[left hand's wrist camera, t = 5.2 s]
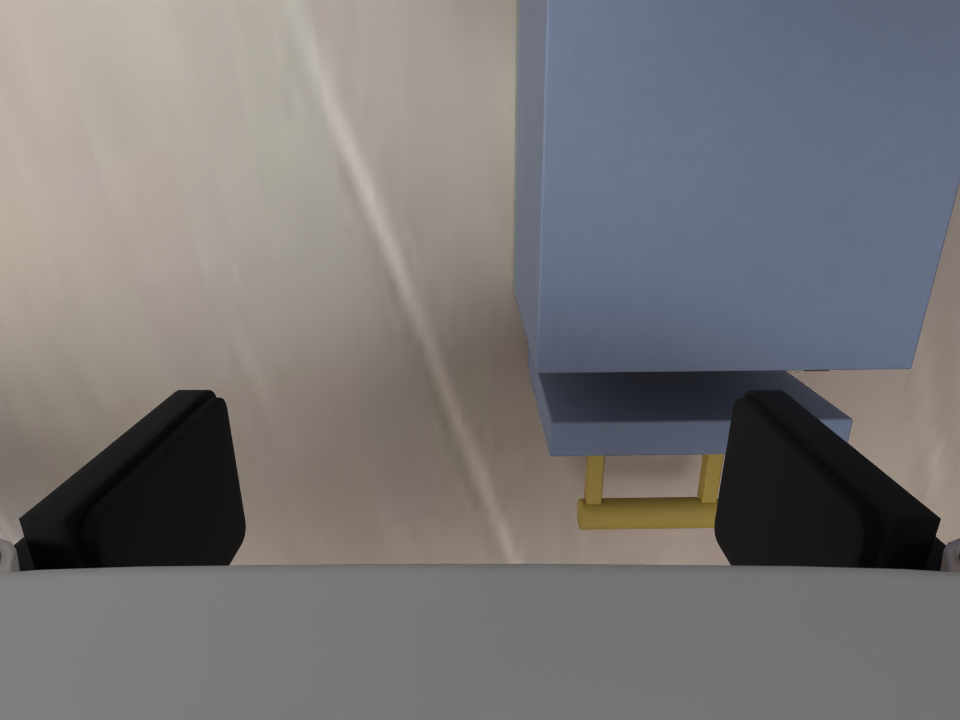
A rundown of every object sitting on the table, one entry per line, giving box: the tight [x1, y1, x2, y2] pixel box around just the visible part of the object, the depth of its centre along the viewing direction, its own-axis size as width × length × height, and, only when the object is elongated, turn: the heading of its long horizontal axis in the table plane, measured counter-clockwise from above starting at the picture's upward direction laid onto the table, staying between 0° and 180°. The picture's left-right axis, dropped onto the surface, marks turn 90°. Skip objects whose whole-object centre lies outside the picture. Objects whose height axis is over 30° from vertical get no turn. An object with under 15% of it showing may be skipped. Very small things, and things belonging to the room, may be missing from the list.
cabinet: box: [513, 0, 960, 373], centre depth 18 cm, size 18×11×10 cm, turn 0°
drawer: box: [528, 347, 853, 530], centre depth 20 cm, size 22×9×8 cm, turn 0°
